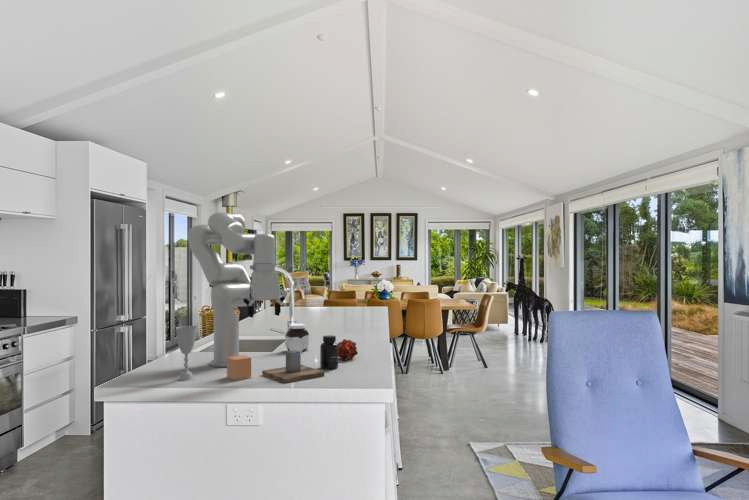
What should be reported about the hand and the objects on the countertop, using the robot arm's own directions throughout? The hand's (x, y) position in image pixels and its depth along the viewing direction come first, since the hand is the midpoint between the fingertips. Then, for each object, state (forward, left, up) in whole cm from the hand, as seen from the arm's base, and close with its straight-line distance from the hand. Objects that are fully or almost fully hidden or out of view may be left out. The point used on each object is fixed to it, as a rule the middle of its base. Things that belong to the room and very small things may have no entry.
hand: (264, 316), depth 191 cm
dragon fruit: (-3, +39, -21) cm, 45 cm away
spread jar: (-30, +32, -21) cm, 49 cm away
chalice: (-12, -24, -21) cm, 34 cm away
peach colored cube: (-2, -9, -21) cm, 23 cm away
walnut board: (+8, +7, -21) cm, 24 cm away
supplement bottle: (+6, +24, -21) cm, 33 cm away
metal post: (+8, +7, -20) cm, 22 cm away
